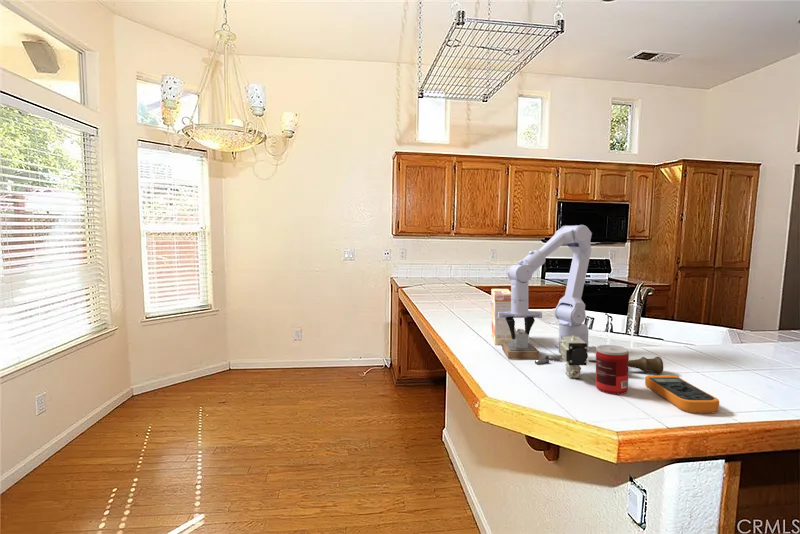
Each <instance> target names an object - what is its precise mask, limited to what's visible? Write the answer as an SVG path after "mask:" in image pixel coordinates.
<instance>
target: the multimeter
mask: <svg viewBox="0 0 800 534" xmlns="http://www.w3.org/2000/svg"><path fill="white" fill-rule="evenodd" d="M644 383H645V386H646V388H647V389H649V390H651V391H652V392H654V393H656V394H657V395H659V396H660V397H662V399H665V400H667V401H668V402H669V403H671V404H672V405H673V406H675V407H676V408H677V409H678V410H680V411H682V412H685V413H690V414H715V413H717V412H718V411H719V410H720V400H719V399H718V398H717V397H715V396H713V395H711V394H709V393H708V392H706V391H704V390H702V389H700V388H699V387H696V386H695V385H693V384H691V383H689V382H687V381H686V380H684V379H683V378H680V377H679V376H677V375H667V374H666V375H665V374H664V375H663V374H662V375H661V374H658V375H645V378H644Z"/></svg>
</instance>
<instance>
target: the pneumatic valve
mask: <svg viewBox="0 0 800 534" xmlns="http://www.w3.org/2000/svg"><path fill="white" fill-rule="evenodd" d="M558 344H559V348H558V353H559V354H560V356H561V358H562V359H563V360H564V361H565V362H566V363H565V368H566V369H565V370H566V371H565V375H566V376H567V377H568V379H572V378H573V379H574V378H575V379H577V378H578V379H582V374H581V373H582V371H581V370H582V366H584V367H585V366H587V365H588V364H587V363H588V357H589V355H588V351H587V343H585V342H584V341H583V340H582V339H580V338H579V337H578V336H574V335H572V336H561V342H559V341H558Z"/></svg>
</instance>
